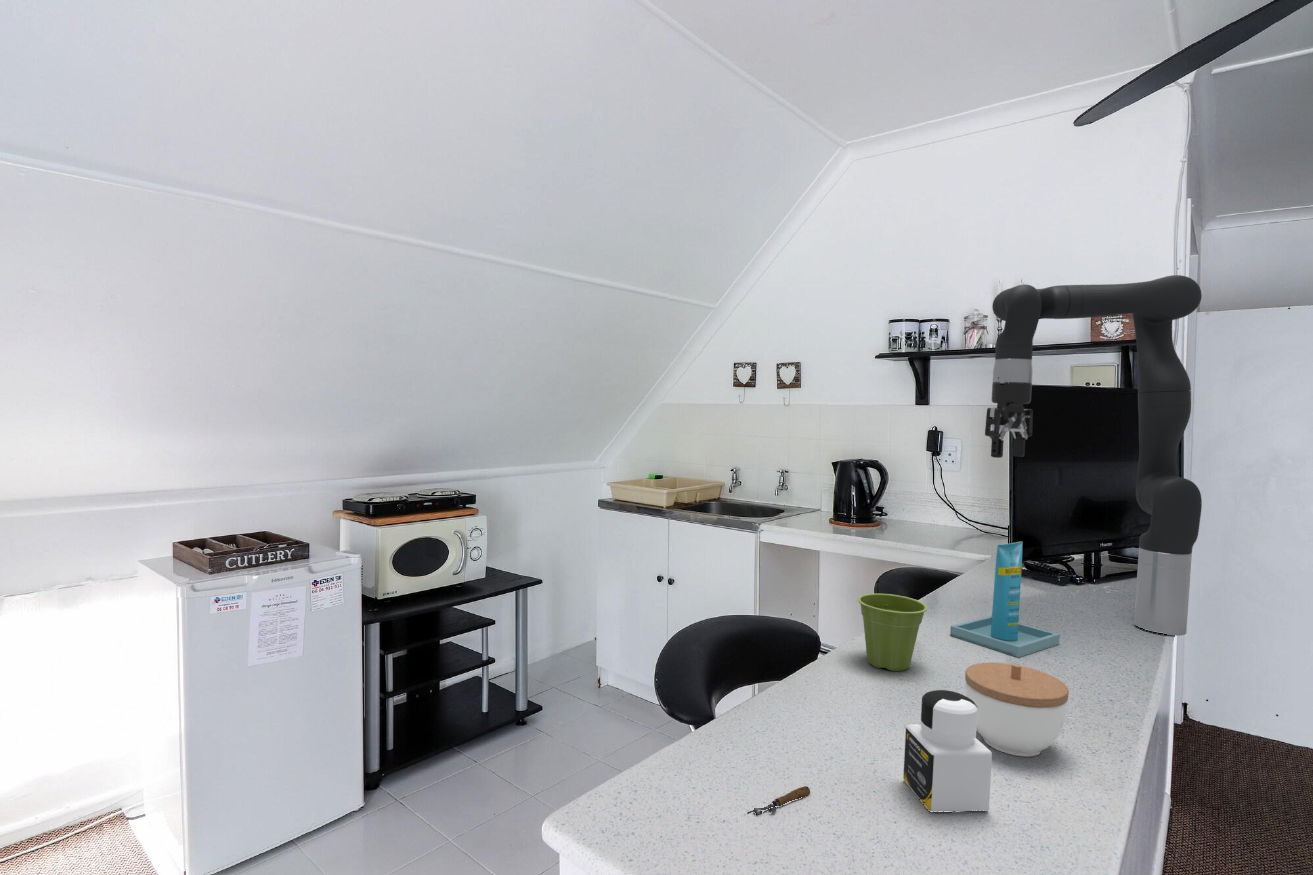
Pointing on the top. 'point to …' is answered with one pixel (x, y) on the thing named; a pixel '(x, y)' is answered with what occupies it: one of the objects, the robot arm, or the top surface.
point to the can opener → (786, 798)
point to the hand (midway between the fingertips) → (1007, 457)
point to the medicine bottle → (947, 755)
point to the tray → (1024, 645)
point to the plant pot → (890, 629)
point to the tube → (1007, 591)
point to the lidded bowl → (1016, 707)
